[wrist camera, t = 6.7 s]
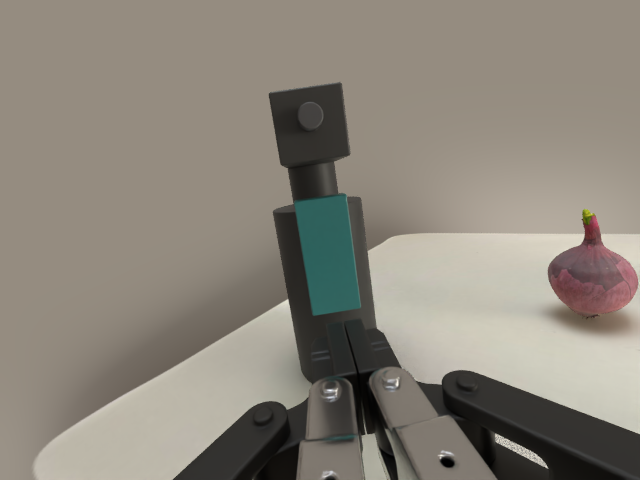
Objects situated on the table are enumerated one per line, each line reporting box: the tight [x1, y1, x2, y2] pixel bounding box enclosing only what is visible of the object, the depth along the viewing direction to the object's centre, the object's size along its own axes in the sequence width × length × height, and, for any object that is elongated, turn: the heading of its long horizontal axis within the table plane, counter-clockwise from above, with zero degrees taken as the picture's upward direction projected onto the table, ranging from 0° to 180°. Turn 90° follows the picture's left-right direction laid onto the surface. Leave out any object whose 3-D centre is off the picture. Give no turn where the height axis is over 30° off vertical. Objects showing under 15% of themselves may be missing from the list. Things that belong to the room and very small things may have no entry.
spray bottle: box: [269, 82, 377, 382], centre depth 23 cm, size 13×7×20 cm, turn 3°
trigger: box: [294, 193, 361, 316], centre depth 19 cm, size 1×3×7 cm, turn 93°
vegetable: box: [548, 209, 638, 319], centre depth 27 cm, size 6×6×10 cm
